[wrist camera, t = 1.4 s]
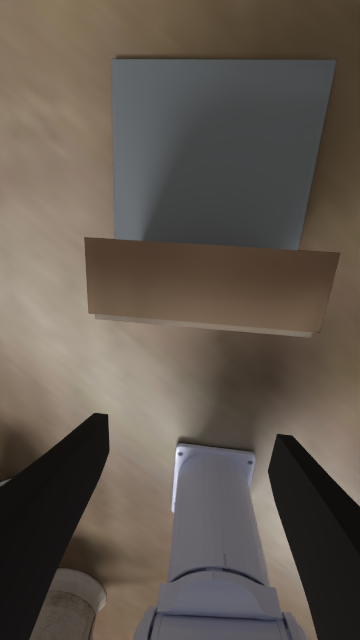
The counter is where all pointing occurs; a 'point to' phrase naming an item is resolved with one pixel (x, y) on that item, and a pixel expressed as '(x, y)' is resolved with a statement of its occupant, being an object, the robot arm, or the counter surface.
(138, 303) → the brown wooden block
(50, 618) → the mug
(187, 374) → the counter surface
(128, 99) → the mat
